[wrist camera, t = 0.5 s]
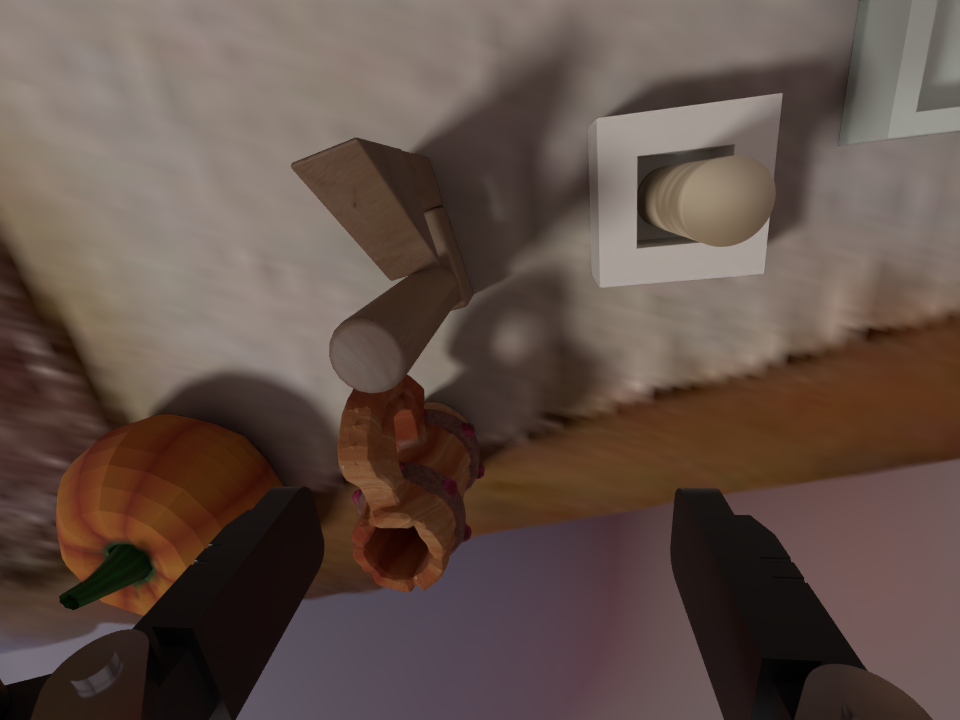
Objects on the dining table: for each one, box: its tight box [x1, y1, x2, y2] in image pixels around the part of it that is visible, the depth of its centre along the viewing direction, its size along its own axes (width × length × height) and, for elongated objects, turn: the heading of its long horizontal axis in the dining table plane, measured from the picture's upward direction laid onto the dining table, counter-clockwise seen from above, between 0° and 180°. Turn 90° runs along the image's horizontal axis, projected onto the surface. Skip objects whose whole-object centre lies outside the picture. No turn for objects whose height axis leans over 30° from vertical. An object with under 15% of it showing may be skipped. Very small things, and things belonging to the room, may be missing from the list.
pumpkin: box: [56, 414, 283, 615], centre depth 39 cm, size 19×19×15 cm
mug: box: [337, 375, 484, 592], centre depth 33 cm, size 15×8×15 cm, turn 12°
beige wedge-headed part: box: [291, 138, 473, 393], centre depth 27 cm, size 4×11×18 cm, turn 18°
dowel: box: [637, 155, 776, 247], centre depth 26 cm, size 4×4×11 cm
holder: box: [588, 93, 783, 288], centre depth 30 cm, size 10×10×5 cm
